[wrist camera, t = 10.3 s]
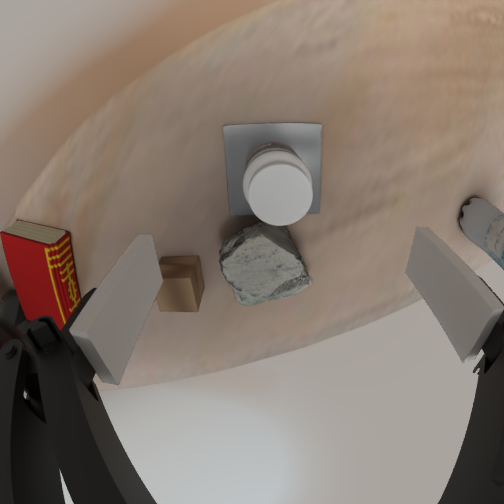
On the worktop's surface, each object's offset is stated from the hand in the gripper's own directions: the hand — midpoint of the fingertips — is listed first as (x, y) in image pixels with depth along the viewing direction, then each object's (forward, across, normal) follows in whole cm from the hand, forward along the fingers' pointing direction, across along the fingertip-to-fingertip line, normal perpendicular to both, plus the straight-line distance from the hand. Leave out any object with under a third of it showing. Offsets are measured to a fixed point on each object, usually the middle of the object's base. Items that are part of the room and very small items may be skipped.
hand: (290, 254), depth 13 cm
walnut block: (+18, -12, -13) cm, 26 cm away
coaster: (+18, 0, 0) cm, 18 cm away
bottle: (+18, +29, -5) cm, 35 cm away
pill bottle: (+18, 0, 0) cm, 18 cm away
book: (+19, -37, -13) cm, 43 cm away
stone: (+19, 0, -12) cm, 22 cm away
